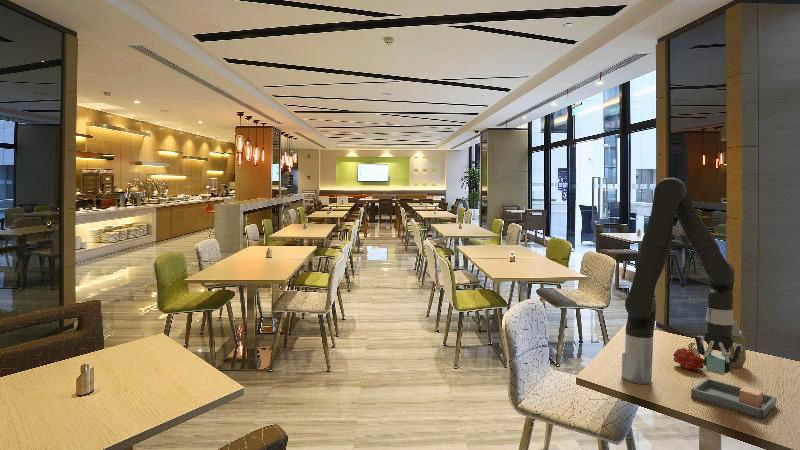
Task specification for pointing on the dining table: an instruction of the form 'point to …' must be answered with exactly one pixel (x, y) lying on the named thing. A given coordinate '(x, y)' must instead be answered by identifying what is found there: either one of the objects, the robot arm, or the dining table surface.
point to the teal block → (716, 364)
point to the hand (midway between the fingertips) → (717, 369)
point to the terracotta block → (751, 397)
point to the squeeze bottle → (739, 340)
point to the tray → (730, 398)
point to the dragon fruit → (688, 359)
